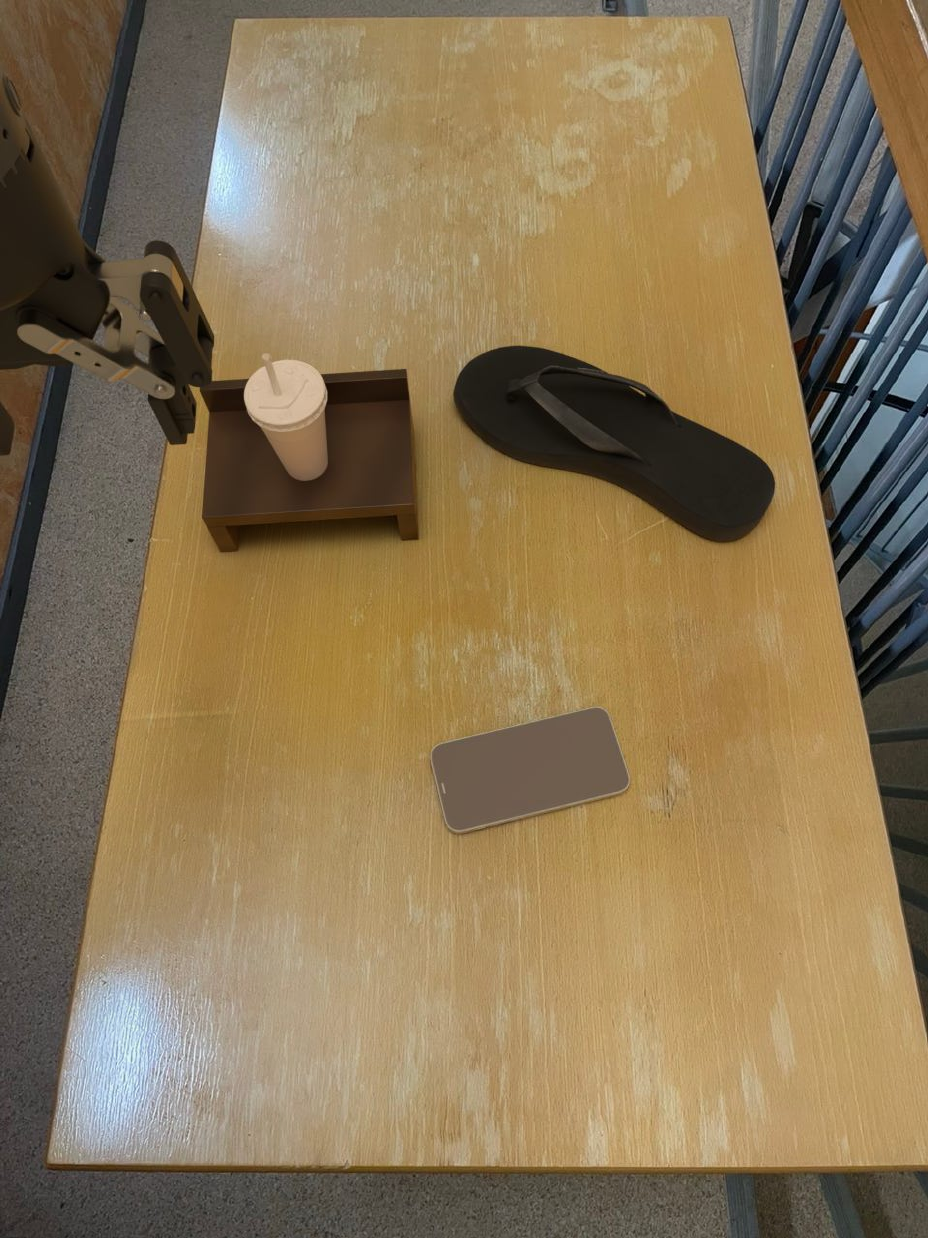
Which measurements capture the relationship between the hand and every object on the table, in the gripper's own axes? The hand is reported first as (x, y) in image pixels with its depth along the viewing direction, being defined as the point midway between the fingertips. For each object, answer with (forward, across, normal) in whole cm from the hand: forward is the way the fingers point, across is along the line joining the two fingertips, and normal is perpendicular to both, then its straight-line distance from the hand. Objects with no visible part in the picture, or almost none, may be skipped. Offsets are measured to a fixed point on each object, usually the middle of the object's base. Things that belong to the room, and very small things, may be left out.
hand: (93, 435), depth 45 cm
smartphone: (+36, +22, -8) cm, 43 cm away
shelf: (+36, +6, +20) cm, 41 cm away
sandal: (+36, +32, +22) cm, 53 cm away
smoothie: (+30, +5, +19) cm, 36 cm away
